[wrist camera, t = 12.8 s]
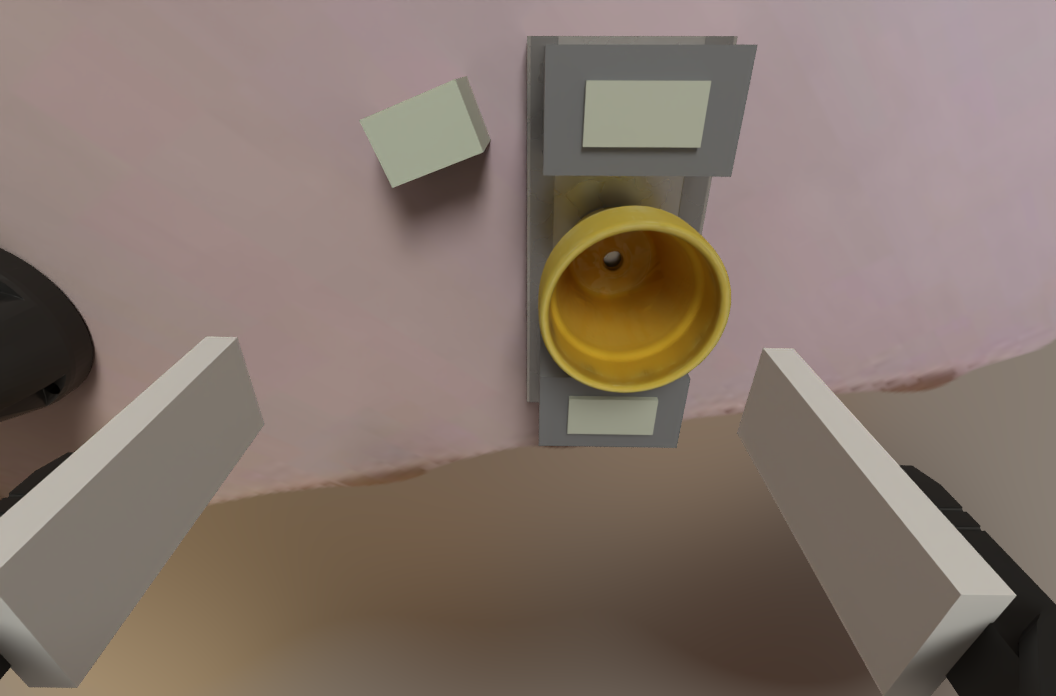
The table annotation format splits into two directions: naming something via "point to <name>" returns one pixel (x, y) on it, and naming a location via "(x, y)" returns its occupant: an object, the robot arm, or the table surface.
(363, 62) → the table surface
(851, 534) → the robot arm
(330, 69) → the table surface
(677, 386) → the module far
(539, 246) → the rail
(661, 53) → the block
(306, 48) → the table surface
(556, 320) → the plant pot
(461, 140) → the block
